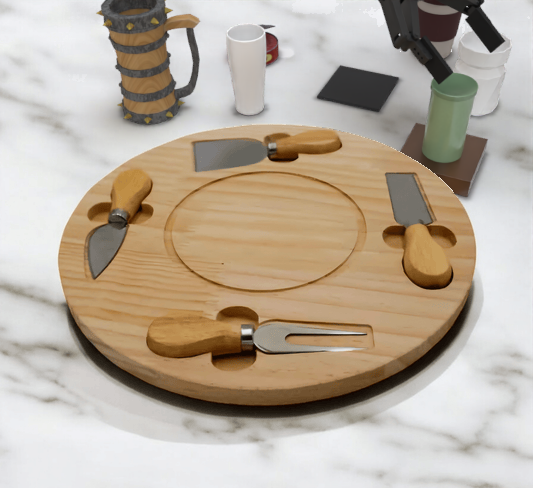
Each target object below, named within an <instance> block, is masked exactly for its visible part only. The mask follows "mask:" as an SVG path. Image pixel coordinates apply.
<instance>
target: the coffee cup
mask: <svg viewBox="0 0 533 488" xmlns="http://www.w3.org/2000/svg"><path fill="white" fill-rule="evenodd" d="M418 15H419V26H420V38H419V39H421V38H422V37H423V36H425V35H426V36H427V37H428V39H429V40H430V41H431V43H432V44H433V45H434V47H435V48H436V49H437V51H438V52H439V53H440V55H441V56H442V57H443V59H446V58H448V57H449V56H450V54H451V53H452V49H453V45H454V42H455V38H456V37H457V34H458V31H459V27H460V23H461V19H462V15H463V13H461V12H459V11H457V10H455V9H453V8H451V7H449V6H447V5H445V4H443V3H441V2H439V1H437V0H423V1H419V2H418Z"/></svg>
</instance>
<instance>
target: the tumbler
mask: <svg viewBox="0 0 533 488" xmlns="http://www.w3.org/2000/svg"><path fill="white" fill-rule="evenodd" d="M429 87H430V95H429V102H428V108H427V114H426V120H425V124H424V125H425V131H424V137H423V143H422V152H423V154H424V155H425V156H426V157H427V158H429V159H430V160H433V161H436V162H441V163H449V162H454V161H456V160H458V159H459V158H460V157H461V156H462V154H463V149H464V145H465V140H466V135H467V134H468V130H469V126H470V121H471V118H472V117H471V116H472V115H471V113H472V108H473V104H474V99H475V96H476V94H477V92H478V87H479V86H478V83H477V82H476V81H475V80H474V79H473V78H471V77H469V76H467V75H464V74H460V73H452V74H451V75H450V76H449V77H448V78H447V79H445V80H444V81H443V82H442V83H441V84H439V85H438V83H437V82H436V81H435V79H434V78H433V77H432V79H431V81H430V86H429Z"/></svg>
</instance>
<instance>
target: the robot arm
mask: <svg viewBox="0 0 533 488" xmlns="http://www.w3.org/2000/svg"><path fill="white" fill-rule="evenodd" d="M377 1H378V3H379V4H380V7H381V10H382V14H383V17H384V20H385V23H386V28H387V30H388V33H389V37H390V41H391V44H392V47H393V48H394V49H395V50H401V51H402V52H404V53H407V52H408V51H411V53H412V54H413V55H414V57H415V58H416V59H417V61H418V62H419V63H420V64H421V65H422V66H424V67H425V69H426V70H427V71H428V73H429V74H430V75H431V76H432V79H433V78H434V79H435V81H436V82H437V83H438V85H439V84H441V83H442V82H443V81H444V80H445V79H447V78H448V77H449V76H450V75H451V74H452V73H453V72H454V70H453V69H452V68H451V66H450V65H449V64H448V62H446V61H447V60H445V58H443V57H442V56H441V55H440V53H439V52H438V51H437V49H436V48H435V47H434V45H433V44H432V43H431V41H430V40H429V39H428V37H427V36H426V35H425V36H423V37H422V38H421V39H419V38H420V26H419V15H418V2H419V1H423V0H377ZM437 1H439V2H441V3H443V4H445V5H447V6H449V7H451V8H453V9H455V10H457V11H459V12H461V13H462V15H464V16H467V17H466V18H465V19H464V21H465V22H466V23H467V25H468V26H469V27H470V28H471V31H472V30H473V31H474V32H475V34H476V35H477V36H478V38H479V39H480V40H481V42H482V43H483V44H484V45H485V47H486V48H487V49H488V51H489V52H490V53H492V52H493V51H494V50H496V49H497V48H498V47H499V46H500V45H501V44H503V43H504V42H505V40H504V38H503V37H502V36H501V35H500V33H501V32H500V31H499V30H498V29H497V27H495V25H494V24H493V22H492V20H491V19H490V18H489V16H488V15H487V14H486V13H485V11H484V9H482V5H483V4H484V3H485V0H437Z"/></svg>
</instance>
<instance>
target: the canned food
mask: <svg viewBox="0 0 533 488" xmlns="http://www.w3.org/2000/svg"><path fill="white" fill-rule="evenodd" d="M258 25H259V26H261V27H262V28H264V30H268V29H272V28H276V25H273V24H258ZM265 35H266V67H267V66H269V65H271V64H273V63H275V62H276V61H277V59H278V58H279V55H280V54H279V39H278V37H277V36H276V35H275V34H273V33H271V32H268V31H265Z"/></svg>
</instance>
